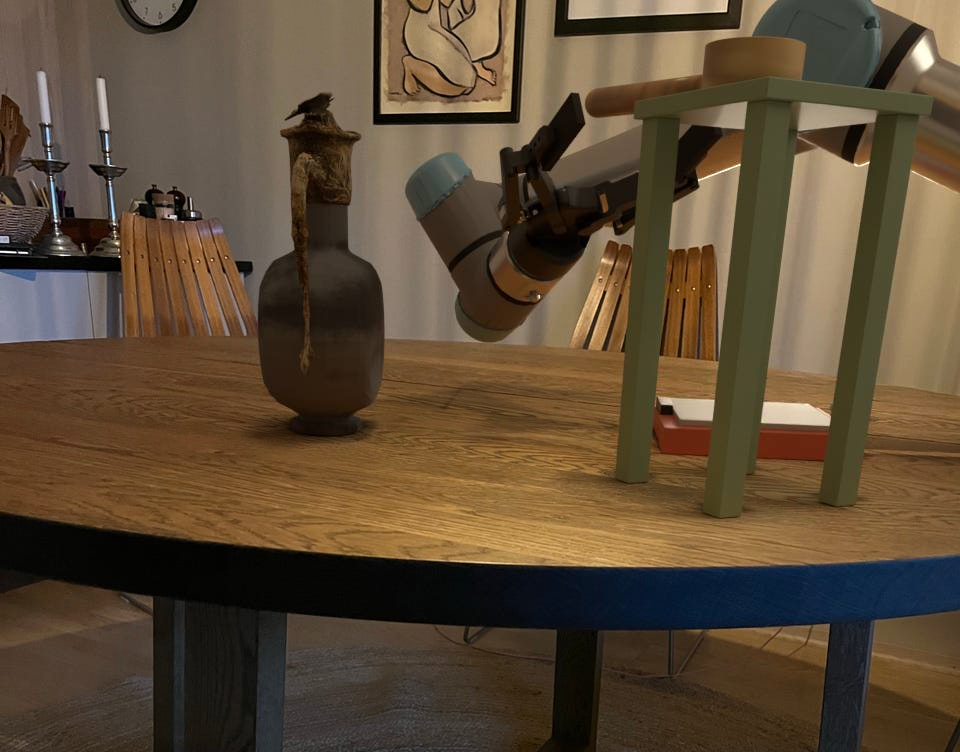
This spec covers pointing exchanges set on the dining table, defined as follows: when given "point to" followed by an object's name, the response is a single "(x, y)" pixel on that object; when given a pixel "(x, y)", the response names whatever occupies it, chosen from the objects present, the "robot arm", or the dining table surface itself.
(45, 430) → the dining table surface
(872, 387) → the shelf stand
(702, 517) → the dining table surface
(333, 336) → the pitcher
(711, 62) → the scoop
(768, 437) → the scale
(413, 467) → the dining table surface
